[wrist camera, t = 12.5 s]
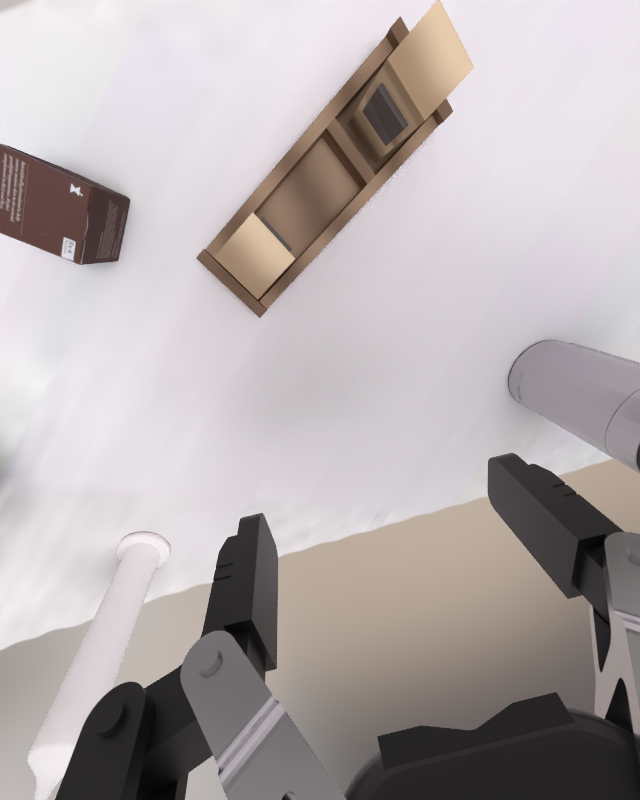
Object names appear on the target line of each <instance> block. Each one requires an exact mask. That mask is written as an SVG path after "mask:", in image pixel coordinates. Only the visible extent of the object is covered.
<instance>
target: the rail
mask: <svg viewBox="0 0 640 800" xmlns="http://www.w3.org/2000/svg"><path fill="white" fill-rule="evenodd" d="M408 34H409V31H408V29H407V27H406V26H405V24H404V22H403V20H402V18H401V17H399V18H398V19H397V21H396V22H395V23H394V24H393V25H392V27H391V28H390V29H389V31H388V33H387V35H386V37H385V38H384V39H383V40H382V41H381V42H380V44H379V45H378V46H377V47H376V48H375V50H374V51H373V52H372V53H371V54H370V55H369V57H368V58H367V59H366V60H365V61H364V63H363V64H362V65H361V66H360V67H359V68H358V70H357V71H356V72H355V73H354V74H353V76H352V77H351V78H350V79H349V80H348V81H347V83H346V84H345V85H344V86H343V87H342V89H341V90H340V91H339V92H338V93H337V95H336V96H335V97H334V98H333V99H332V100H331V102H330V103H329V104H328V105H327V106H326V108H325V109H324V110H323V111H322V112H321V113H320V115H319V116H318V117H317V118H316V119H315V121H314V122H313V123H312V124H311V125H310V126H309V128H308V129H307V130H306V131H305V132H304V134H303V135H302V136H301V137H300V138H299V139H298V141H297V142H296V143H295V144H294V145H293V147H292V148H291V149H290V150H289V151H288V152H287V154H286V155H285V156H284V157H283V158H282V160H281V161H280V162H279V163H278V164H277V165H276V167H275V168H274V169H273V170H272V171H271V173H270V174H269V175H268V176H267V177H266V179H265V180H264V181H263V182H262V183H261V184H260V186H259V187H258V188H257V189H256V190H255V192H254V193H253V194H252V195H251V196H250V197H249V199H248V200H247V201H246V202H245V203H244V205H243V206H242V207H241V208H240V209H239V210H238V212H237V213H236V214H235V215H234V216H233V218H232V219H231V220H230V221H229V222H228V223H227V225H226V226H225V227H224V228H223V229H222V231H221V232H220V233H219V234H218V235H217V236H216V238H215V239H214V240H213V241H212V242H211V244H210V245H209V246H208V247H207V248H206V249H205V250H204V249H203V251H202V252H201V253H200V254H199V255H198V257H197V259H198V260H199V261H200V262H201V263H202V264H203V265H204V266H205V267H206V268H207V269H208V270H209V271H211V272H212V273H213V274H214V275H215V276H216V277H217V278H218V279H219V280H220V281H221V282H222V283H223V284H224V285H225V286H226V287H228V288H229V289H230V290H231V291H232V292H233V293H234V294H235V295H236V296H237V297H238V298H239V299H240V300H241V301H242V302H244V303H245V304H246V305H247V306H248V307H249V308H250V309H251V310H252V311H253V312H254V313H255V314H256V315H257V316H258V317H259V318H260V317H261V316H262V315H263V314H264V313H265V312H266V311H267V308H268V307H269V306H270V305H271V304H272V303H273V302H274V301H275V300H276V299H277V298H278V296H279V295H280V294H281V293H282V292H283V291H284V290H285V289H286V288H287V287H288V286H289V285H290V284H291V283H292V282H293V280H294V279H295V278H296V277H297V276H298V275H299V274H300V273H301V272H302V271H303V270H304V269H305V268H306V267H307V265H308V264H309V263H310V262H311V261H312V260H313V259H314V258H315V257H316V256H317V255H318V254H319V253H320V252H321V250H322V249H323V248H324V247H325V246H326V245H327V244H328V243H329V242H330V241H331V240H332V239H333V238H334V237H335V236H336V234H337V233H338V232H339V231H340V230H341V229H342V228H343V227H344V226H345V225H346V224H347V223H348V222H349V221H350V219H351V218H352V217H353V216H354V215H355V214H356V213H357V212H358V211H359V210H360V209H361V208H362V207H363V206H364V204H365V203H366V202H367V201H368V200H369V199H370V198H371V197H372V196H373V195H374V194H375V193H376V192H377V191H378V190H379V188H380V187H381V186H382V185H383V184H384V183H385V182H386V181H387V180H388V179H389V178H390V177H391V176H392V175H393V173H394V172H395V171H396V170H397V169H398V168H399V167H400V166H401V165H402V164H403V163H404V162H405V161H406V160H407V158H408V157H409V156H410V155H411V154H412V153H413V152H414V151H415V150H416V149H417V148H418V147H419V146H420V145H421V144H422V142H423V141H424V140H425V139H426V138H427V137H428V136H429V135H430V134H431V133H432V132H433V131H434V130H435V129H436V127H437V126H438V125H440V124H441V123H442V122H444V121H445V120H446V118H447V117H448V116H449V115H450V114H451V113H452V112H453V110H452V108H451V106H450V105H449V103H448V101H447V99H445V100H444V101H443V102H442V103H441V104H440V105H439V106H438V107H437V108H436V109H435V111H434V112H433V113H432V114H431V115H430V116H429V117H428V118H427V119H426V120H425V121H424V122H423V123H422V124H421V125H420V126H418V127H417V128H416V129H415V130H414V131H413V132H411V133H410V134H409V135H408V136H407V137H406V138H404V139H403V140H402V141H401V142H400V143H398V144H397V145H396V146H395V147H394V148H393V149H391V150H390V151H389V152H388V153H387V154H385V155H384V156H383V157H382V158H381V159H380V160H378V161H377V162H376V163H375V162H374V161H373V159H372V158H371V156H370V155H369V154H368V152H367V151H366V149H365V148H364V146H363V145H362V144H361V142H360V141H359V139H358V138H357V136H356V135H355V134H354V132H353V131H352V129H351V128H350V126H349V125H348V123H349V121H350V119H351V118H352V116H353V114H354V113H355V111H356V109H357V108H358V106H359V104H360V103H361V101H362V99H363V98H364V96H365V95H366V93H367V91H368V90H369V88H370V86H371V85H372V83H373V81H374V80H375V78H376V76H377V75H378V73H379V71H380V70H381V68H382V66H383V65H384V63H385V62H386V60H387V58H388V57H389V56H390V55H391V54H392V53H393V51H394V50H395V49H396V48H397V47H398V46H399V44H400V43H401V42H402V41H403V40H404V39H405V37H406V36H407V35H408Z"/></svg>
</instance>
